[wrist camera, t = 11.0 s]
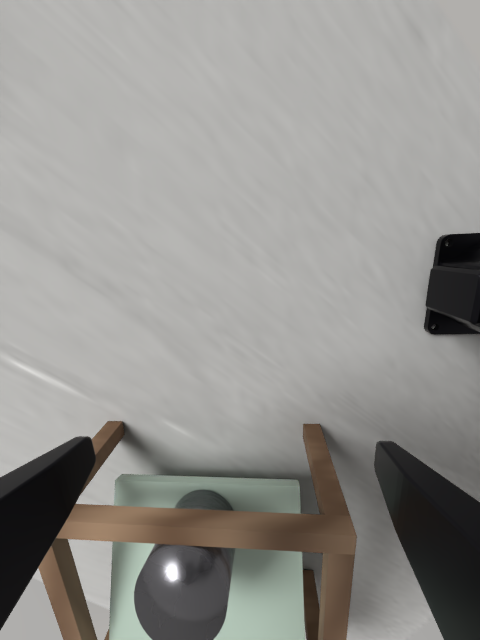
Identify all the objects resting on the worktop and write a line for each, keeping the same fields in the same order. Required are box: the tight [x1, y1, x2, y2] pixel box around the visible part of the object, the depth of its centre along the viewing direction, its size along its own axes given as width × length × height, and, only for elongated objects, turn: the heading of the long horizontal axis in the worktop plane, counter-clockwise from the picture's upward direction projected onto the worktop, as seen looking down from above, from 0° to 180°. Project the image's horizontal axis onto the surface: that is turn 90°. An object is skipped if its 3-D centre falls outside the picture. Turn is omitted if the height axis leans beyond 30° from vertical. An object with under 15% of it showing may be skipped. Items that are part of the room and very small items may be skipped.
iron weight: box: [134, 490, 235, 640], centre depth 16 cm, size 5×5×6 cm
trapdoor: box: [109, 474, 305, 640], centre depth 19 cm, size 14×14×1 cm
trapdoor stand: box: [38, 421, 357, 640], centre depth 20 cm, size 18×18×8 cm
